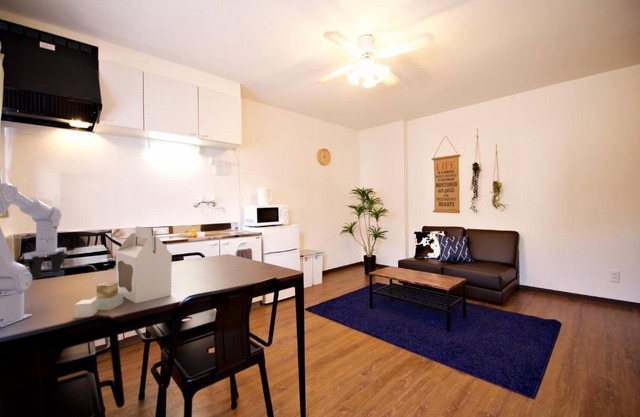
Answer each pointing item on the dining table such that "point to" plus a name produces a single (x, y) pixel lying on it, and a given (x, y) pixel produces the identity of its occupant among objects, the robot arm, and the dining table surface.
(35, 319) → the dining table surface
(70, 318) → the dining table surface
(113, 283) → the oak cube
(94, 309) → the cream cube
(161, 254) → the gable box
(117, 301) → the sage block
